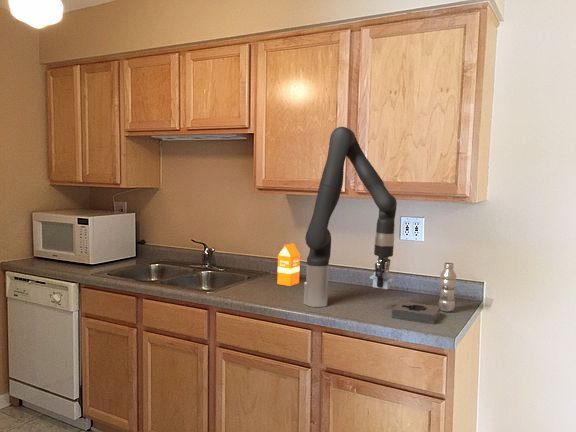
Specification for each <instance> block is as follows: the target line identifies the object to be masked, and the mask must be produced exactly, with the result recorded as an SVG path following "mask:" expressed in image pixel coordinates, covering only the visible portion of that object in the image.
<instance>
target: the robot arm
mask: <svg viewBox="0 0 576 432" xmlns="http://www.w3.org/2000/svg"><path fill="white" fill-rule="evenodd" d="M329 137H330V138H329V144H328V152H327V155H326V157H327V158H326V161H325V165H324V168H323V171H322V175H321V178H320V182H319V185H318V189H317V193H316V199H315V202H314V206H313V212H312V217H311V219H310V222H309V225H308V228H307V230H306V233H305V238H304V239H305V244H306V246H307V247H308V248H309V252H308V255H307V257H306V281H304V283H303V284H304V286H303V305H306V306H308V307H312V308H324V307H327V306H328V300H329V299H328V295H329V294H328V293H329V268H330V267H329V263H330V259H331V250H332V249H331V248H332V234H331V232H330V230H329V229H328V228H329V227H328V226H329V223H330V219H331V216H332V214H333V213H334V211H335V209H336V206H337V205H338V202H339V200H340V196H341V192H342V189H343V185H344V174H345V173H344V172H345V171H344V170H345V169H344V168H345V162H346V158H348V159H349V161H350V163H351V164H352V166H353V168H354V170H355V171H356V172H355V173H356V175H357V176H358V177H359V179H360V181H361V183H362V184H363V186H364V187H365V189H366V190H367V192H368V193H369V194H370V196H371V199H373V201H374V204H375V205H376V207H377V208H378V218H377V221H376V227H375V228H376V231H375V237H374V249H373V254H374V256H377V258H378V259H376V262H375V263H374V272H375V276H376V277H378V278H377V287H382V286H383V277H384V272H385V271H386V270H388V273H390V272H389V271H390V265H391V259H390V258H391V257H394V245H395V244H394V243H395V218H396V213H397V205H398V204H397V199H396V197H395V196H394V195H392V194H391V193H390V192H389V190H388V188H387V187H386V186H385V183H384V181H383V179H382V178H381V176H380V175H379V173H378V172H377V171H376V169H375V168H374V166H373V165H372V164H371V162H370V161H369V159H368V158H367V156H366V154H364V152H363V150H362V148H361V146H360V144H359V141H358V139H357V137H356V135H355V132H354V131H353V130H352V129H350V128H348V127H346V126H338V127H336V128H334V129H333V130H332V132H331V134H330V136H329ZM379 272H380V274H379Z"/></svg>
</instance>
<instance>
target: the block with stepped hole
mask: <svg viewBox="0 0 576 432" xmlns="http://www.w3.org/2000/svg"><path fill="white" fill-rule="evenodd" d="M441 311H442V310H441V307H439V305H430V304H424V303H422V304H421V303H415V302H410V301H409V302H408V301H400V302H399V303H397V304H396V305H395V306H393V308H392V309H391V318H392V319H396V320H404V321H409V322H415V323H416V322H417V323H421V324H423V323H424V324H428V325H435V324H436V321H438V319H439V318H440V317H441V315H442V314H441Z"/></svg>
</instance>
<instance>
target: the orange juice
mask: <svg viewBox="0 0 576 432" xmlns="http://www.w3.org/2000/svg"><path fill="white" fill-rule="evenodd" d="M300 257H301V255H300V252H299V251H298V249H297V248H296V245H295V243H293V242H292V243H288V244H284V245H283V247H282V248H281V250H280V252H279V253H278V254H277V283H276V284H277V285H281V286H282V285H283V286H287V287H288V286H289V287H291V286H294V285H297V284H299V283H300V267H301V266H300V259H301V258H300Z"/></svg>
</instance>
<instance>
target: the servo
mask: <svg viewBox="0 0 576 432" xmlns="http://www.w3.org/2000/svg"><path fill="white" fill-rule="evenodd" d="M379 274H380V272H379ZM391 275H392V274H391V272H389V273H388V270H386V271H385V272H384V277H383V286H382V287H377V278H378V277H376V276H375V271H374V272H373V274H371V276H369V279H371V281H370V285H372V288H377V289H383V290H388V289H390V288H391V282H393V281H395V277H394V278H393V277H391Z"/></svg>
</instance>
